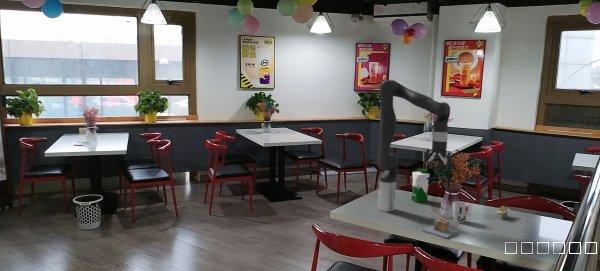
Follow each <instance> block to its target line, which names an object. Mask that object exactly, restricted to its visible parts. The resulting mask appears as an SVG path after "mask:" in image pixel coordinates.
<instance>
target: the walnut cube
mask: <svg viewBox="0 0 600 271" xmlns="http://www.w3.org/2000/svg"><path fill="white" fill-rule="evenodd" d="M449 222H450V221H449V220H447V219H443V218H438V219H436V220H434V224H433V225H434V230H436V231H439V232H442V233H444V232H446V231H448V227H449V224H450V223H449ZM449 228H450V227H449Z"/></svg>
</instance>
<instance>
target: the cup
mask: <svg viewBox="0 0 600 271" xmlns="http://www.w3.org/2000/svg"><path fill="white" fill-rule="evenodd" d="M469 206H470V205H469V203H467V202H465V201H453V202H452V217H453V221H454V222H455V223H458V224H462V223H465V221H466V220H467V214H468V211H469Z"/></svg>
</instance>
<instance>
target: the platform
mask: <svg viewBox="0 0 600 271" xmlns="http://www.w3.org/2000/svg"><path fill="white" fill-rule="evenodd" d="M510 210H511V208H509V207H508V206H505V205H502V206H500V207H499V208H498V209H497V210H496V212H498V213H499V215H498V216H499V217H498V219H501V220H503V219H505V218H507V217H508V213H509V212H508V211H510Z"/></svg>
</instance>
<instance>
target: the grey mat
mask: <svg viewBox="0 0 600 271" xmlns="http://www.w3.org/2000/svg"><path fill="white" fill-rule="evenodd" d="M460 231H461V230H459V229H455V228H452V227H448V231H446V232H444V233H442V232H439V231H436V230H434V224H433V225H431V226H429V227H426V228H424V229H422V232H423V233H425V234H428V235H432V236H436V237H439V238H443V239H445V240H448V239H450V238H452V237H454V236H455V235H458V234H460Z"/></svg>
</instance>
